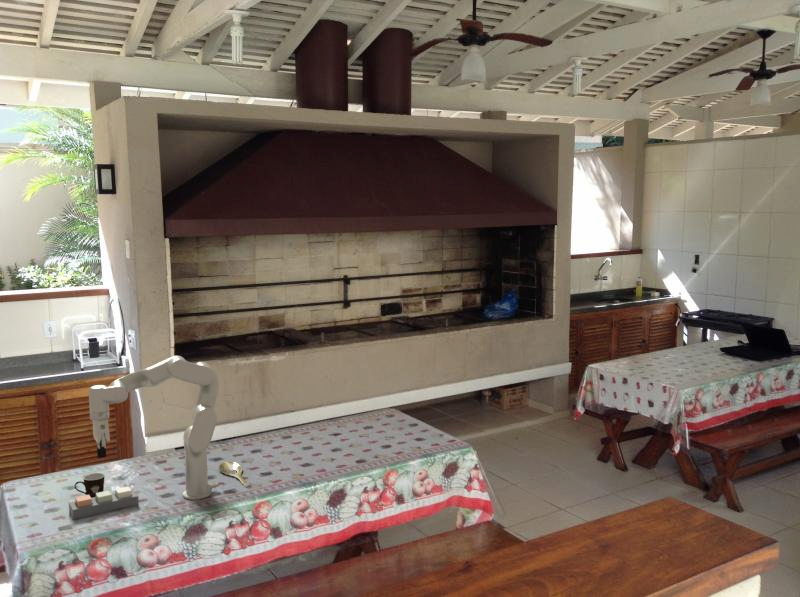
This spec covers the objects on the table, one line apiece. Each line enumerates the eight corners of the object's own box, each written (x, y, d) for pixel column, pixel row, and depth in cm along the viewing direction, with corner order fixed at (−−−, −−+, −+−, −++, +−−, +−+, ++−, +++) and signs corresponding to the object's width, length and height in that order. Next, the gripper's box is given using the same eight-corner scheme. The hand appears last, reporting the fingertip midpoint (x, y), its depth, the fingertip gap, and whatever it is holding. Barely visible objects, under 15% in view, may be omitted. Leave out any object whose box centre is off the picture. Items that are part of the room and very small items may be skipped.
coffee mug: (108, 494, 320) (107, 472, 319) (101, 502, 311) (100, 480, 310) (82, 494, 320) (81, 473, 318) (74, 502, 311) (73, 480, 310)
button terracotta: (89, 503, 303) (89, 494, 302) (92, 507, 298) (91, 498, 298) (75, 506, 300) (75, 497, 299) (78, 510, 295) (77, 501, 295)
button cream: (128, 495, 312) (128, 486, 311) (131, 499, 307) (131, 490, 307) (115, 497, 309) (115, 489, 308) (118, 502, 304) (118, 493, 304)
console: (133, 498, 315) (132, 489, 314) (138, 506, 308) (138, 496, 307) (69, 512, 300) (68, 502, 300) (73, 520, 293) (72, 510, 292)
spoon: (260, 490, 330) (260, 485, 330) (238, 494, 325) (238, 490, 324) (235, 462, 360) (235, 458, 359) (214, 466, 354) (214, 462, 354)
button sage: (109, 499, 307) (108, 490, 307) (112, 503, 303) (111, 494, 302) (95, 502, 304) (95, 493, 304) (98, 506, 300) (98, 497, 299)
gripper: (113, 417, 295) (115, 460, 297) (105, 409, 307) (107, 450, 309) (93, 420, 291) (96, 464, 293) (86, 412, 303) (88, 453, 305)
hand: (101, 457), depth 301 cm, fingers closed
